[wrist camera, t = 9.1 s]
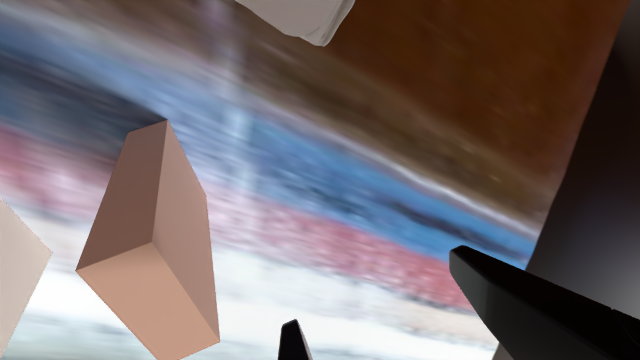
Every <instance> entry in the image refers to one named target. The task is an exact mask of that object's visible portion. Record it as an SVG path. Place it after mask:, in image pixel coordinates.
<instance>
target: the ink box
mask: <svg viewBox="0 0 640 360" xmlns="http://www.w3.org/2000/svg"><path fill="white" fill-rule="evenodd" d="M235 1H237V2H238V3H240V4H242V5H244V6H245V7H247V8H249V9H250V10H252V11H253V12H254V13H255V14H257V15H258V16H259V17H261V18H262V19H263V20H265V21H266V22H268V23H269V24H271V25H272V26H274V27H275V28H277V29H278V30H280V31H281V32H282V33H284V34H286V35H290V36H299V37H301V38H303V39H304V40H306V41H308V42H310V43H312V44H313V45H320V46H325V45H327V44H328V43H329V42H330V40H331V38H332V37H333V35H334V33H335V32H336V30H337V28H338V27H339V25H340V23H341V22H342V20H343V19H344V18H345V16H346V15H347V14H348V13H349V11H350V10H351V8H352V6H353V4H354V1H355V0H235Z"/></svg>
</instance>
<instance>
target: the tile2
mask: <svg viewBox="0 0 640 360" xmlns="http://www.w3.org/2000/svg"><path fill="white" fill-rule="evenodd" d="M52 253H53V252H52V251H51V250H50V249H49V248H48V247H47V246H46V245H45V244H44V243H43V242H42V241H41V240H40V239H39V238H38V237H37V236H36V234H35V233H34V232H33V231H32V230H31V229H30V228H29V227H28V226H27V225H26V224H25V223H24V222H23V221H22V220H21V219H20V218H19V217H18V216H17V214H16V213H15V212H14V211H13V210H12V209H11V208H10V207H9V206H8V205H7V204H6V203H5V202H4V201H3V200H2V199H1V198H0V359H1V357H2V355H3V353H4V351H5V349H6V347H7V345H8V343H9V341H10V338H11V336H12V334H13V332H14V330H15V328H16V326H17V324H18V322H19V320H20V318H21V316H22V314H23V312H24V310H25V308H26V306H27V304H28V302H29V300H30V298H31V296H32V294H33V292H34V290H35V288H36V286H37V284H38V282H39V280H40V277H41V275H42V273H43V271H44V269H45V267H46V265H47V263H48V261H49V259H50V257H51V255H52Z"/></svg>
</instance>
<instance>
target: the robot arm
mask: <svg viewBox="0 0 640 360" xmlns="http://www.w3.org/2000/svg"><path fill="white" fill-rule="evenodd" d="M449 269H450V273H451V275H452V277H453V278H454V280H455V281H456V283H457V284H458V286H459V287H460V289H461V290H462V292H463V293H464V295H465V296H466V298H467V299H468V301H469V302H470V304H471V305H472V307H473V308H474V310H475V311H476V313H477V314H478V316H479V317H480V318H481V320H482V321H483V323H484V324H485V325H486V326H487V328H488V329H489V330H490V331H491V333H492V334H493V335H494V336H495V337H496V339H497V340H498V341H499V342H500V343H501V345H502V346H503V347H504V348H505V349H506V351H507V352H508V353H509V354H510V356H511V357H512V358H513V359H514V360H640V320H639V319H637V318H634V317H632V316H630V315H627V314H625V313H622V312H620V311H618V310H615V309H613V310H612V309H611V308H610V307H608V306H605V305H603V304H601V303H599V302H596V301H594V300H592V299H589V298H587V297H585V296H582V295H580V294H578V293H575V292H573V291H571V290H568V289H566V288H564V287H561V286H559V285H557V284H554V283H552V282H549V281H547V280H545V279H543V278H540V277H538V276H536V275H533V274H531V273H529V272H526V271H524V270H521V269H519V268H517V267H514V266H512V265H510V264H507V263H505V262H503V261H500V260H498V259H496V258H493V257H491V256H489V255H486V254H484V253H482V252H479V251H477V250H475V249H472V248H470V247H468V246H464V245H461V246H458V247H456V248H454V249H452V250H450V252H449ZM278 360H313V359H312V356H311V353H310V350H309V347H308V345H307V342H306V339H305V337H304V334H303V332H302V330H301V327H300V325H299V323H298V321H297V320H296V319H294V320H292V321H289V322H287V323H285V324H283V326H282V328H281V336H280V345H279V353H278Z"/></svg>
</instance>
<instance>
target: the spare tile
mask: <svg viewBox="0 0 640 360" xmlns="http://www.w3.org/2000/svg"><path fill="white" fill-rule="evenodd" d="M75 271H76V272H77V273H78V274H79V276H80V277H81V278H82V279H83V280H84V281H85V282H86V283H87V284H88V285H89V286H90V287H91V289H92V290H93V291H94V292H95V293H96V294H97V295H98V296H99V297H100V298H101V299H102V300H103V302H104V303H105V304H106V305H107V306H108V307H109V308H110V309H111V310H112V311H113V312H114V313H115V314H116V316H117V317H118V318H119V319H120V320H121V321H122V322H123V323H124V324H125V325H126V326H127V327H128V329H129V330H130V331H131V332H132V333H133V334H134V335H135V336H136V337H137V338H138V339H139V340H140V342H141V343H142V344H143V345H144V346H145V347H146V348H147V349H148V350H149V351H150V352H151V353H152V355H153V356H154V357H155V358H156V359H157V360H180V359H182V358H185V357H187V356H189V355H191V354H194V353H196V352H198V351H201V350H203V349H205V348H207V347H210V346H212V345H214V344H216V343H219V342H220V335H219V324H218V314H217V303H216V293H215V283H214V272H213V262H212V251H211V241H210V231H209V220H208V210H207V199H206V195H205V193H204V191H203V189H202V187H201V185H200V183H199V181H198V179H197V177H196V175H195V173H194V171H193V169H192V167H191V165H190V163H189V161H188V159H187V157H186V155H185V153H184V151H183V149H182V147H181V145H180V143H179V141H178V139H177V137H176V135H175V133H174V131H173V129H172V127H171V125H170V123H169V121H168V120H165V121H162V122H159V123H156V124H152V125H149V126H146V127H143V128H140V129H137V130H134V131H131V132H128V134H127V136H126V139H125V142H124V144H123V147H122V150H121V152H120V155H119V157H118V160H117V163H116V165H115V168H114V171H113V173H112V176H111V178H110V181H109V184H108V186H107V189H106V192H105V194H104V197H103V199H102V202H101V205H100V207H99V210H98V213H97V215H96V218H95V220H94V223H93V226H92V228H91V231H90V234H89V236H88V239H87V241H86V244H85V247H84V249H83V252H82V255H81V257H80V260H79V262H78V265H77V268H76V270H75Z"/></svg>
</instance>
